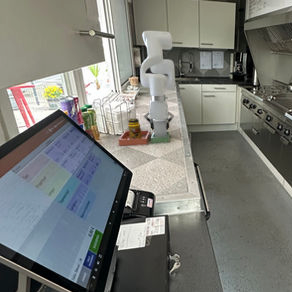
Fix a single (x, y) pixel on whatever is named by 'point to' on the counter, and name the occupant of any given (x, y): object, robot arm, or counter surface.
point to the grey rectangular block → (160, 129)
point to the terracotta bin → (126, 141)
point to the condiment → (134, 129)
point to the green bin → (160, 139)
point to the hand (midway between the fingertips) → (160, 129)
